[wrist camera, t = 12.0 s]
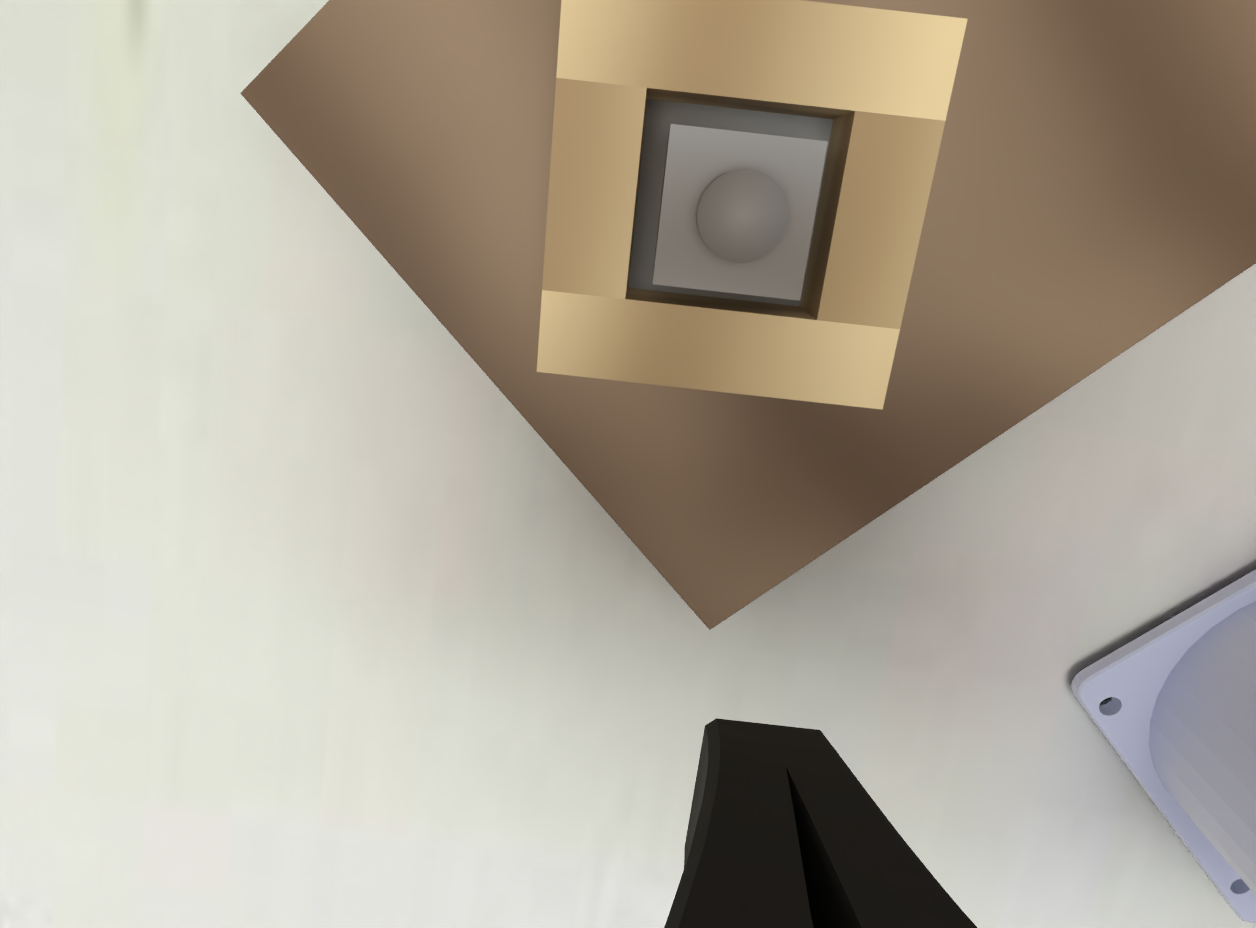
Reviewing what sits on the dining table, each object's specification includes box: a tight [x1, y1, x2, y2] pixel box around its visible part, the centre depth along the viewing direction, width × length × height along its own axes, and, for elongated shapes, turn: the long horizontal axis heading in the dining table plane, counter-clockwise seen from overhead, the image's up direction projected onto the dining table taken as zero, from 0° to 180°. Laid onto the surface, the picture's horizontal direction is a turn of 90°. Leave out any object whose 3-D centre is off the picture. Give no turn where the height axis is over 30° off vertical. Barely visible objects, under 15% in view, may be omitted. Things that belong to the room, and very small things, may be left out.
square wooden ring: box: [537, 0, 968, 410], centre depth 13 cm, size 6×6×2 cm
